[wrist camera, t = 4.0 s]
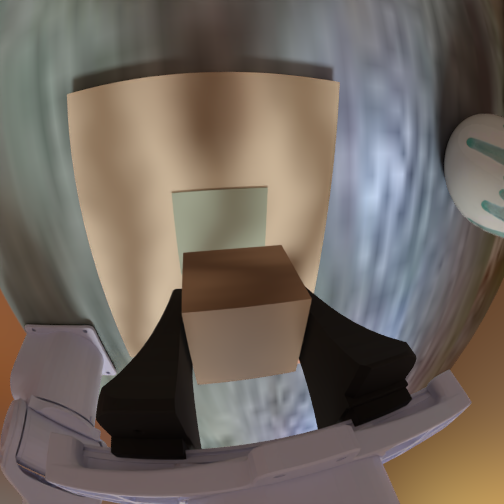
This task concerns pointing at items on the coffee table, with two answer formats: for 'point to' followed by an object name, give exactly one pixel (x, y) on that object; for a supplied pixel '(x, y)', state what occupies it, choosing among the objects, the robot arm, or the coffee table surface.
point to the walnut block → (243, 313)
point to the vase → (478, 171)
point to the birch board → (198, 178)
